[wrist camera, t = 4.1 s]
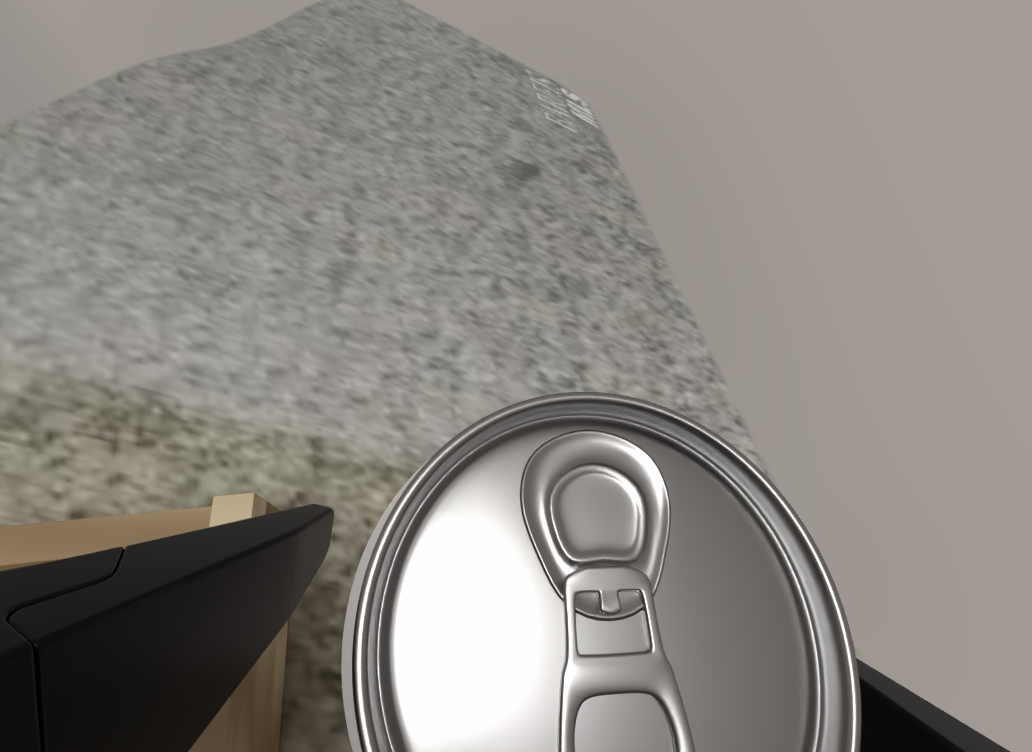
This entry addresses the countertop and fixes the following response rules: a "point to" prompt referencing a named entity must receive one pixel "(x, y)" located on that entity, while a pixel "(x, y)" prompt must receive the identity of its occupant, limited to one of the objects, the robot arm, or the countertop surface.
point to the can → (595, 597)
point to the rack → (258, 699)
